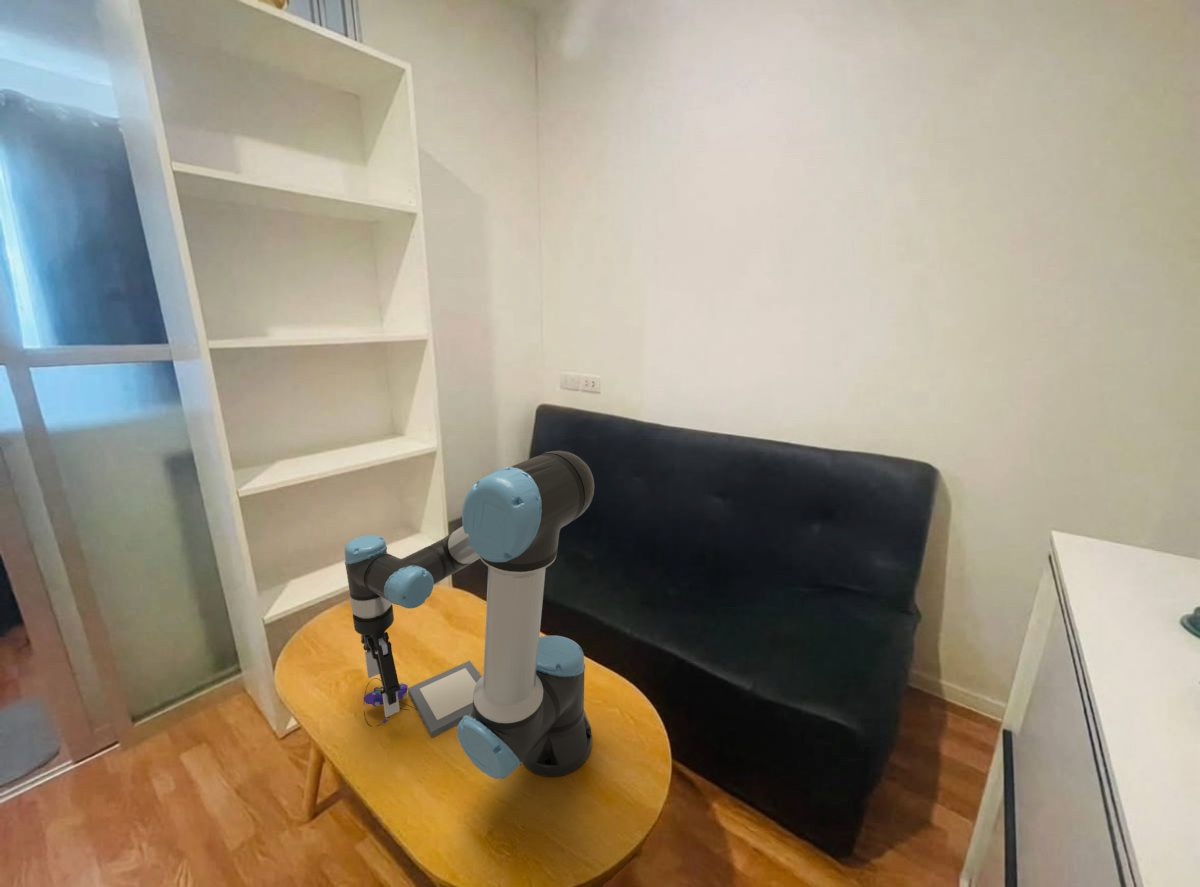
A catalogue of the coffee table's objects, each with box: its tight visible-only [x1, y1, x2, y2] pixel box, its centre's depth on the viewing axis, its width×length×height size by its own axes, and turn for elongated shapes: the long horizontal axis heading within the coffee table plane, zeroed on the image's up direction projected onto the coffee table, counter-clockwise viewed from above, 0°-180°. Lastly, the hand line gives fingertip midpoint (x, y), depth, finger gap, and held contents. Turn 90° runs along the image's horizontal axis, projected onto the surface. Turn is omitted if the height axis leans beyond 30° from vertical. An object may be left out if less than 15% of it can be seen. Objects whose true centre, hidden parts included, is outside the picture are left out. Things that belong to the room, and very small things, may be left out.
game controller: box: [363, 677, 417, 727], centre depth 107 cm, size 10×8×10 cm
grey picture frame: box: [407, 660, 483, 739], centre depth 110 cm, size 15×15×2 cm
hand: (383, 693), depth 106 cm, fingers open, 13 cm apart
